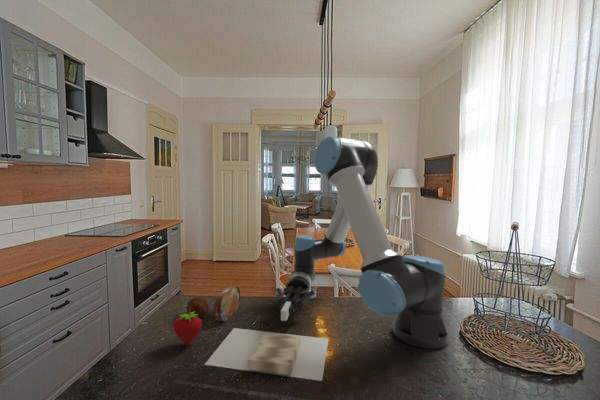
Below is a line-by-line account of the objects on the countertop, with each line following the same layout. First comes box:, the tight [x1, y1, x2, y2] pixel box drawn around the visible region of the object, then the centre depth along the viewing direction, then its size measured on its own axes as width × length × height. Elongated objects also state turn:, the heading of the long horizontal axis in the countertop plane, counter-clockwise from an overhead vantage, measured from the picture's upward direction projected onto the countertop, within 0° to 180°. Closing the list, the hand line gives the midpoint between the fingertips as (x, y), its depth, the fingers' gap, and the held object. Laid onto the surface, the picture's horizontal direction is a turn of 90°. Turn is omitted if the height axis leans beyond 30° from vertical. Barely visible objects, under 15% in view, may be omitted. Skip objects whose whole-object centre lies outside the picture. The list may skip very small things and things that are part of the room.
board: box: [248, 333, 301, 375], centre depth 74 cm, size 10×2×13 cm
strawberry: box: [172, 311, 203, 346], centre depth 80 cm, size 6×8×10 cm
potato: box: [186, 295, 210, 320], centre depth 97 cm, size 7×9×6 cm
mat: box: [204, 327, 330, 382], centre depth 77 cm, size 28×18×1 cm, turn 80°
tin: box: [213, 285, 241, 322], centre depth 98 cm, size 15×3×8 cm, turn 168°
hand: (283, 315), depth 81 cm, fingers closed
